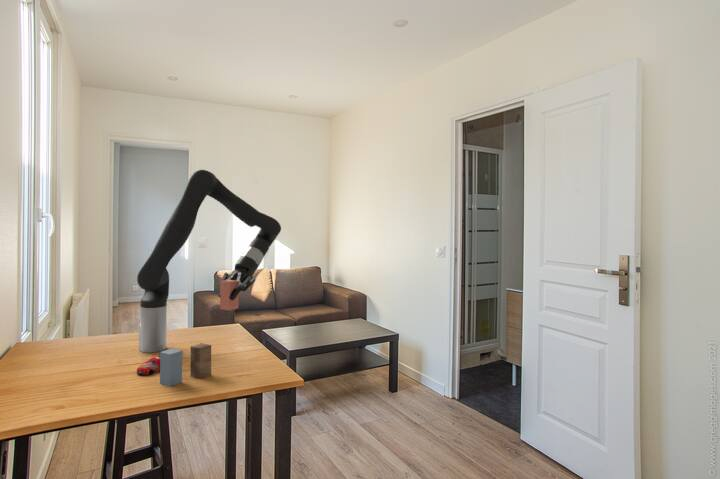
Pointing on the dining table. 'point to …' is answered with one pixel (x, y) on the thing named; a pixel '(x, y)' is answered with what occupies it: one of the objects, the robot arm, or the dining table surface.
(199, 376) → the walnut block
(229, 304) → the red block
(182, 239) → the robot arm
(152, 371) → the race car
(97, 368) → the dining table surface
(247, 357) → the dining table surface
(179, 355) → the slate block
